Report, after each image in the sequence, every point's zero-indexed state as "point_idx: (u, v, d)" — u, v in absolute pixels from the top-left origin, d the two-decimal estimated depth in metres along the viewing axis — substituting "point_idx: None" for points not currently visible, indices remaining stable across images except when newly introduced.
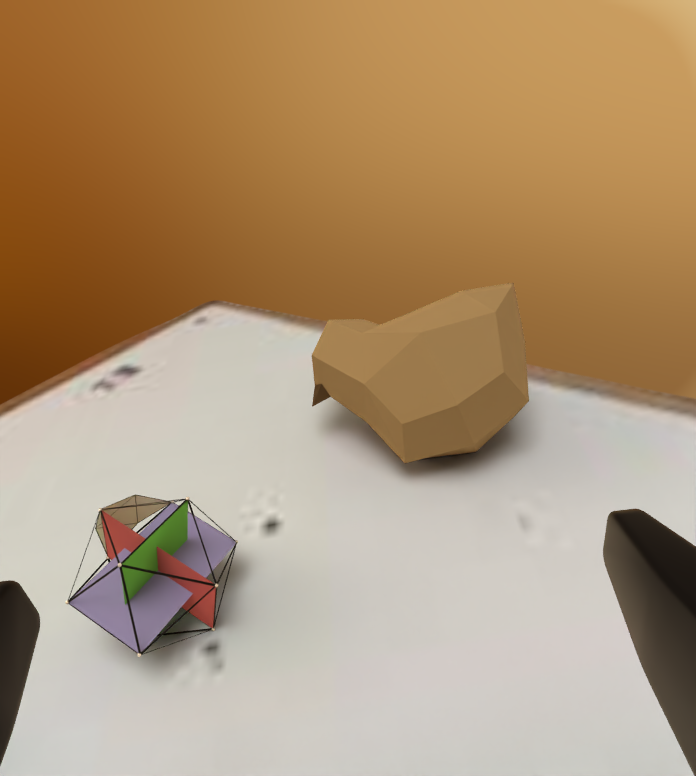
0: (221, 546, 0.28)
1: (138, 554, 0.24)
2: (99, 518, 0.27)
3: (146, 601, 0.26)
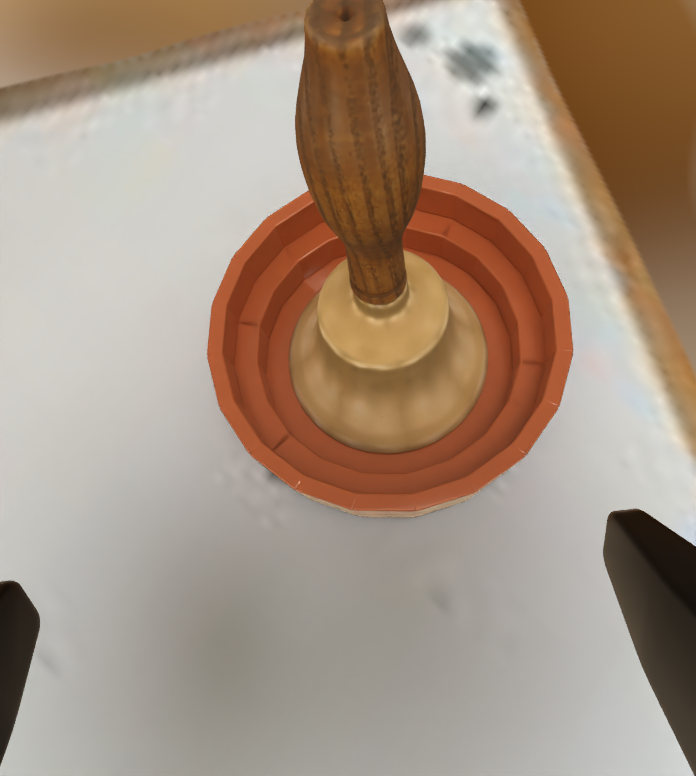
0: None
1: None
2: None
3: None
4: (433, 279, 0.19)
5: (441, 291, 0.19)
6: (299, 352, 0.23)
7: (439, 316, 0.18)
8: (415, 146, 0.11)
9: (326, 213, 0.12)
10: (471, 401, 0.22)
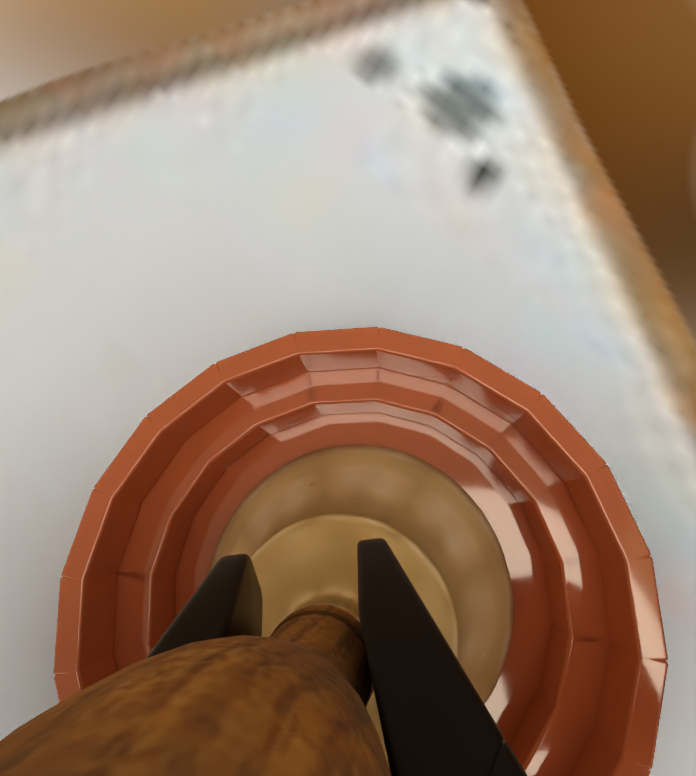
0: None
1: None
2: None
3: None
4: (427, 591, 0.10)
5: (443, 614, 0.10)
6: None
7: None
8: None
9: None
10: (492, 685, 0.14)
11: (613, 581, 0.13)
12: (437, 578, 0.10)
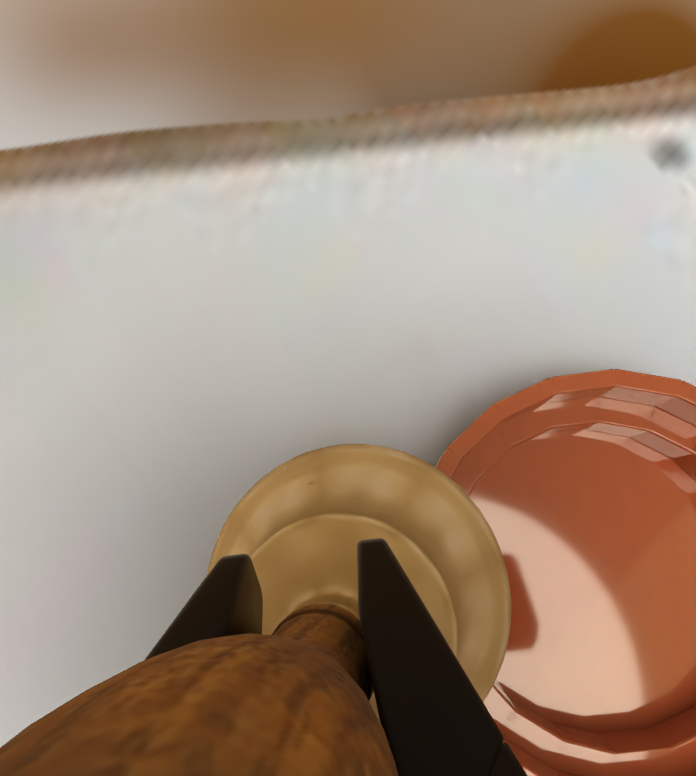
0: None
1: None
2: None
3: None
4: (427, 590, 0.10)
5: (442, 613, 0.10)
6: None
7: None
8: None
9: None
10: (490, 684, 0.14)
11: None
12: (437, 577, 0.10)
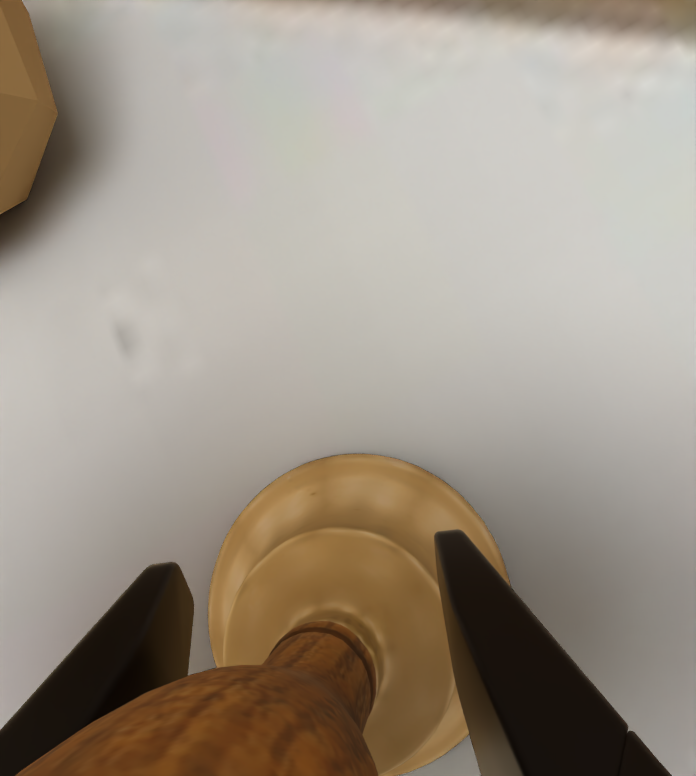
0: None
1: None
2: None
3: None
4: (427, 605, 0.10)
5: (442, 628, 0.10)
6: (220, 621, 0.15)
7: (442, 682, 0.10)
8: None
9: None
10: None
11: None
12: (437, 592, 0.11)
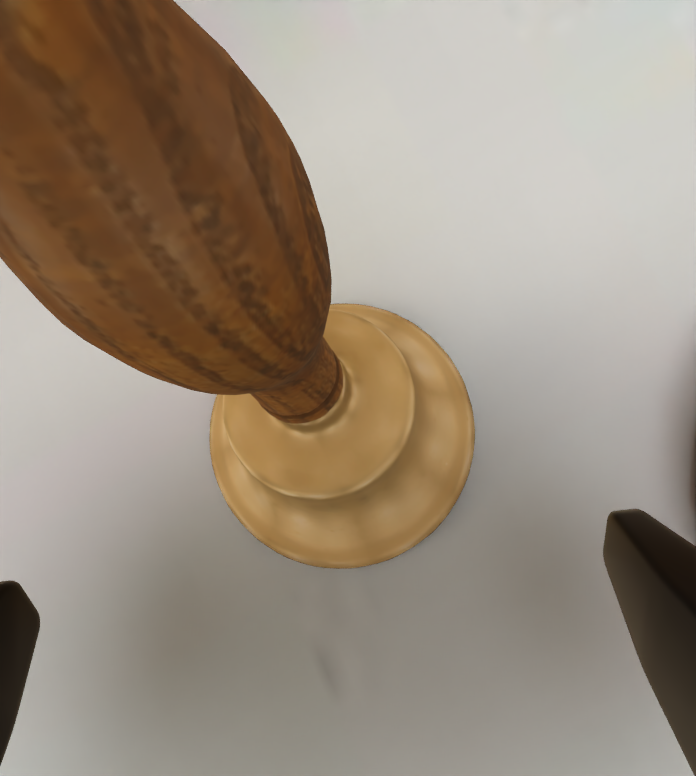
0: None
1: None
2: None
3: None
4: (389, 358, 0.13)
5: (401, 376, 0.13)
6: (220, 436, 0.17)
7: (400, 416, 0.12)
8: (282, 254, 0.04)
9: None
10: (454, 494, 0.17)
11: None
12: (398, 352, 0.13)
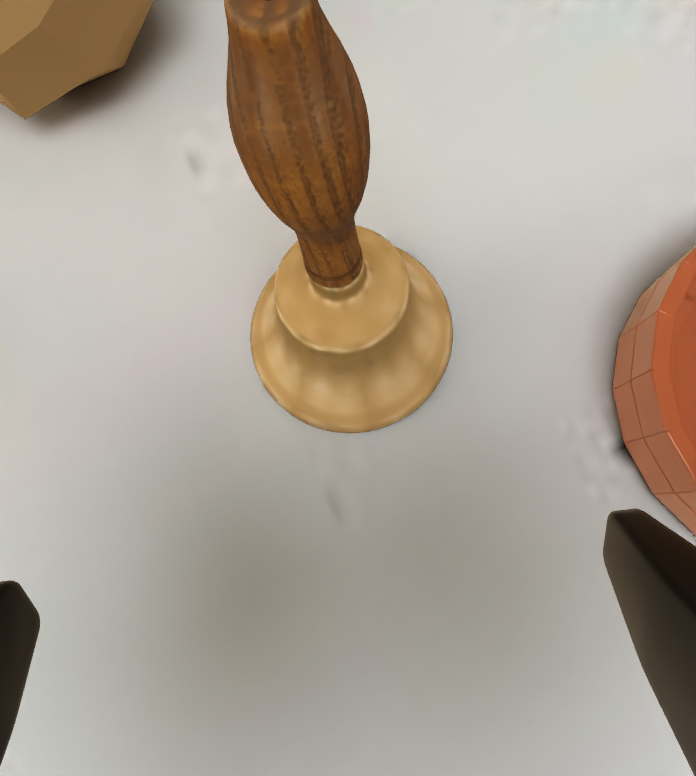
0: None
1: None
2: None
3: None
4: (392, 258, 0.18)
5: (400, 271, 0.18)
6: (260, 330, 0.23)
7: (398, 297, 0.18)
8: (355, 133, 0.10)
9: (267, 200, 0.11)
10: (435, 379, 0.22)
11: None
12: (399, 255, 0.18)
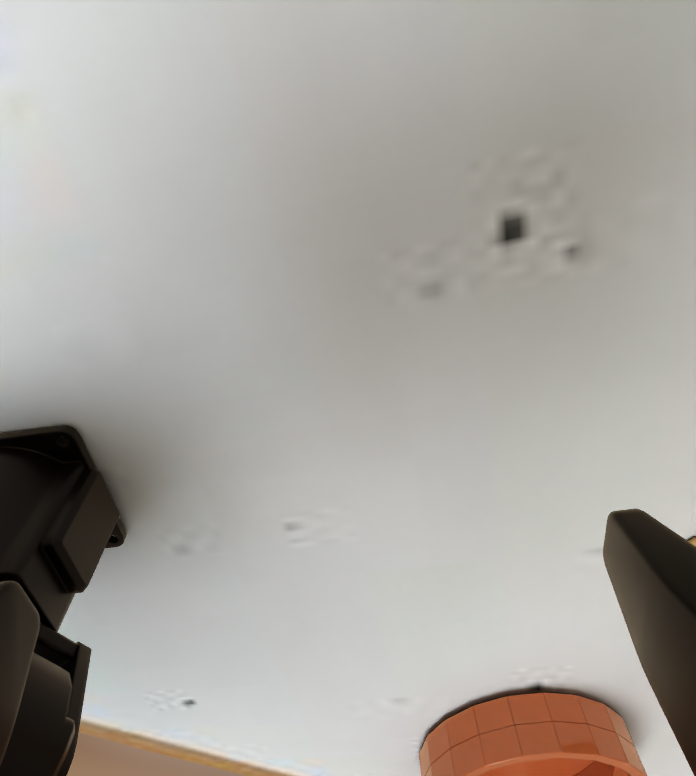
0: None
1: None
2: None
3: None
4: None
5: None
6: None
7: None
8: None
9: None
10: None
11: None
12: None
